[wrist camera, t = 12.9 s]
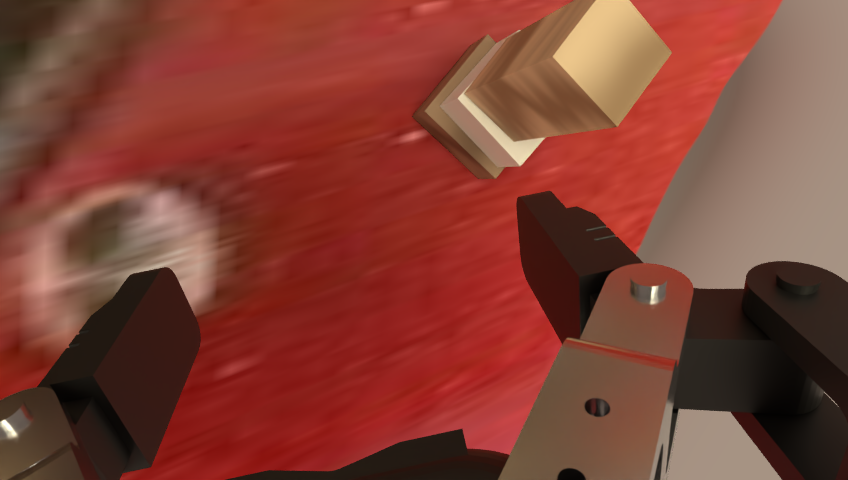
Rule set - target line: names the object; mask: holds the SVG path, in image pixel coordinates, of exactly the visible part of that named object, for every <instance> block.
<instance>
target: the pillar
mask: <svg viewBox="0 0 848 480" xmlns="http://www.w3.org/2000/svg"><path fill="white" fill-rule="evenodd" d="M671 53H672V52H671V51H670V49H669V48H668V47H667V46H666V45H665V43H664V42H663V41H662V40H661V39H660V37H659V36H658V35H657V34H656V32H655V31H654V30H653V29H652V28H651V26H650V25H649V24H648V23H647V21H646V20H645V19H644V18H643V17H642V15H641V14H640V13H639V12H638V10H637V9H636V8H635V7H634V6H633V4H632V3H631V2H630V1H629V0H574V1H572V2H570V3H569V4H567V5H565V6H563V7H562V8H560V9H558V10H556V11H555V12H553V13H551V14H549V15H547V16H546V17H544V18H542V19H540V20H539V21H537V22H535V23H533V24H532V25H530V26H528V27H526V28H524V29H523V30H521V31H519V32H517V33H516V34H514V35H512V36H510V37H508V38H507V39H506V40H505V42H504V43H503V44H502V45H501V47H500V48H499V49H498V50H497V52H496V53H495V54H494V56H493V57H492V58H491V59H490V61H489V62H488V63H487V65H486V66H485V67H484V68H483V70H482V71H481V72H480V74H479V75H478V76H477V77H476V79H475V80H474V81H473V82H472V84H471V85H470V86H469V88H468V89H467V90H466V91H465V93H464V94H465V95H466V96H467V97H468V98H469V99H470V100H471V101H472V102H473V103H474V104H475V105H477V106H478V107H479V108H480V109H481V110H482V111H483V112H484V113H485V114H486V115H487V116H488V117H489V118H490V119H491V120H492V121H493V122H494V123H495V124H496V125H497V126H498V127H499V128H500V129H501V130H502V131H503V132H504V133H505V134H506V135H507V136H508V137H510V138H511V139H512V140H513V141H514V142H516V141H523V140H530V139H537V138H544V137H550V136H557V135H564V134H571V133H578V132H585V131H592V130H599V129H606V128H613V127H618V125H619V124H620V123H621V121H622V120H623V118H624V117H625V116H626V114H627V113H628V112H629V110H630V109H631V108H632V106H633V105H634V104H635V102H636V101H637V99H638V98H639V97H640V95H641V94H642V93H643V91H644V90H645V89H646V87H647V86H648V85H649V83H650V82H651V80H652V79H653V78H654V76H655V75H656V74H657V72H658V71H659V70H660V68H661V67H662V65H663V64H664V63H665V61H666V60H667V59H668V57H669V56H670V55H671Z"/></svg>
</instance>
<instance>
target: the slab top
mask: <svg viewBox="0 0 848 480" xmlns="http://www.w3.org/2000/svg"><path fill="white" fill-rule="evenodd" d="M519 31H520V30H518V31H516V32H515V33H513V34H511V35H510V36H512V35H514V34H516V33H517V32H519ZM510 36H508V37H510ZM508 37H506V38H504V39H503V40H501V41H499V42H498V43H496V44H495V45H494V46H493V47H492V48H491V49H490V51H489V52H488V53H487V54H486V55H485V56H484V57H483V58H482V59H481V61H480V62H479V63H478V64H477V65H476V66H475V67H474V68H473V69H472V71H471V72H470V73H469V74H468V75H467V76H466V77H465V78H464V79H463V81H462V82H461V83H460V84H459V85H458V86H457V87H456V88H455V89H454V91H453V92H452V93H451V94H450V95H449V96H448V97H447V98H446V99H445V101H444V102H443V103H442V104H441V105H440V107H441V108H442V109H443V110H444V111H445V112H446V113H447V114H448V115H449V117H450V118H451V119H452V120H453V121H454V122H455V123H456V124H457V125H458V126H459V127H460V128H461V129H462V130H463V131H464V132H465V133H466V134H467V136H468V137H469V138H470V139H471V140H472V141H473V142H474V143H475V144H476V145H477V146H478V147H479V148H480V149H481V150H482V151H483V152H484V153H485V155H486V156H487V157H488V158H489V159H490V160H491V161H492V162H493V163H494V164H495V165H496V166H497V167H514V166H521V165H522V164H523V163H524V162H525V160H526V159H527V158H528V157H529V156H530V155H531V153H532V152H533V151H534V150H535V149H536V148H537V146H538V145H539V144H540V143H541V142H542V141H543V140H544V138H545V137H544V138H537V139H530V140H523V141H516V142H514V141H513V140H512V139H511V138H510V137H508V136H507V135H506V134H505V133H504V132H503V131H502V130H501V129H500V128H499V127H498V126H497V125H496V124H495V123H494V122H493V121H492V120H491V119H490V118H489V117H488V116H487V115H486V114H485V113H484V112H483V111H482V110H481V109H480V108H479V107H478V106H477V105H475V104H474V103H473V102H472V101H471V100H470V99H469V98H468V97H467V96H466V95H465V94H464V93H465V91H466V90H467V89H468V88H469V86H470V85H471V84H472V82H473V81H474V80H475V79H476V77H477V76H478V75H479V74H480V72H481V71H482V70H483V68H484V67H485V66H486V65H487V63H488V62H489V61H490V59H491V58H492V57H493V56H494V54H495V53H496V52H497V50H498V49H499V48H500V47H501V45H502V44H503V43H504V42H505V40H506V39H507V38H508Z"/></svg>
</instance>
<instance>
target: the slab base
mask: <svg viewBox="0 0 848 480" xmlns="http://www.w3.org/2000/svg"><path fill="white" fill-rule="evenodd" d="M495 44H496V42H495V41H494V40H493V39H492V38H491V37H490V36H489V35H488V34H487V35H486V36H484V37H483V38H481V39H480V40H478V41H477V42H475V43H474V44H472V45H471V46H470V47H469V48H468V49H467V50H466V52H465V53H464V54H463V55H462V56H461V58H460V59H459V60H458V61H457V62H456V64H455V65H454V66H453V67H452V68H451V70H450V71H449V72H448V73H447V75H446V76H445V77H444V78H443V79H442V81H441V82H440V83H439V84H438V85H437V87H436V88H435V89H434V90H433V92H432V93H431V94H430V95H429V96H428V98H427V99H426V100H425V101H424V102H423V104H422V105H421V106H420V107H419V108H418V110H417V111H416V112H415V113H414V115H413V116H412V117H413V118H414V119H415V120H416V121H417V122H419V123H420V124H421V125H422V126H423V127H424V128H425V129H426V130H427V131H428V132H429V133H430V134H431V135H432V136H433V137H435V138H436V139H437V140H438V141H439V142H440V143H441V144H442V145H443V146H444V147H445V148H446V149H447V150H448V151H449V152H451V153H452V154H453V155H454V156H455V157H456V158H457V159H458V160H459V161H460V162H461V163H462V164H463V165H464V166H465V167H466V168H468V169H469V170H470V171H471V172H472V173H473V174H474V175H475V176H476V177H477V178H478V179H496V178H497V177H498V175H499V174H500V173H501V172H502V170H503V169H504V168H505V167H497V166H496V165H495V164H494V163H493V162H492V161H491V160H490V159H489V158H488V157H487V156H486V155H485V153H484V152H483V151H482V150H481V149H480V148H479V147H478V146H477V145H476V144H475V143H474V142H473V141H472V140H471V139H470V138H469V137H468V136H467V134H466V133H465V132H464V131H463V130H462V129H461V128H460V127H459V126H458V125H457V124H456V123H455V122H454V121H453V120H452V119H451V118H450V117H449V115H448V114H447V113H446V112H445V111H444V110H443V109H442V108H441V107H440V105H441V104H442V103H443V102H444V101H445V99H446V98H447V97H448V96H449V95H450V94H451V93H452V92H453V91H454V89H455V88H456V87H457V86H458V85H459V84H460V83H461V82H462V81H463V79H464V78H465V77H466V76H467V75H468V74H469V73H470V72H471V71H472V69H473V68H474V67H475V66H476V65H477V64H478V63H479V62H480V61H481V59H482V58H483V57H484V56H485V55H486V54H487V53H488V52H489V51H490V49H491V48H492V47H493V46H494V45H495Z"/></svg>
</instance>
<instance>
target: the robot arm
mask: <svg viewBox="0 0 848 480" xmlns="http://www.w3.org/2000/svg"><path fill="white" fill-rule="evenodd" d="M517 219H518V231H519V243H520V255H521V262H522V267H523V271H524V274H525V277H526V280H527V282H528V284H529V285H530V287H531V289H532V291H533V293H534V294H535V296H536V298H537V300H538V301H539V303H540V305H541V307H542V309H543V310H544V312H545V314H546V316H547V318H548V319H549V321H550V323H551V325H552V326H553V328H554V330H555V332H556V334H557V335H558V337H559V339H560V341H561V342H562V346H561V348H560V350H559V353H558V355H557V357H556V359H555V361H554V363H553V365H552V367H551V369H550V372H549V374H548V376H547V378H546V380H545V382H544V384H543V386H542V388H541V390H540V393H539V395H538V397H537V399H536V401H535V403H534V405H533V407H532V409H531V411H530V414H529V416H528V418H527V420H526V422H525V424H524V426H523V428H522V430H521V433H520V435H519V437H518V439H517V441H516V443H515V445H514V447H513V449H512V451H511V454H510V455H508V454H504V453H500V452H496V451H489V450H482V449H467V447H466V443H465V439H464V435H463V431H462V429H459V430H454V431H450V432H445V433H440V434H436V435H431V436H426V437H422V438H417V439H413V440H408V441H403V442H399V443H397V444H395V445H392V446H390V447H388V448H386V449H383V450H381V451H379V452H377V453H374V454H372V455H370V456H368V457H365V458H363V459H361V460H359V461H356V462H354V463H352V464H350V465H347V466H345V467H343V468H341V469H338V470H335V471H272V470H268V471H264V472H259V473H254V474H250V475H245V476H240V477H236V478H231V479H226V480H667V478H668V472H669V467H670V462H671V456H672V451H673V445H674V440H675V435H676V430H677V424H678V419H679V414H680V409H693V410H711V411H729V412H731V413H732V415H733V416H734V417H735V419H736V420H737V421H738V422H739V424H740V425H741V426H742V428H743V429H744V430H745V431H746V433H747V434H748V436H749V437H750V438H751V439H752V441H753V442H754V443H755V445H756V446H757V447H758V448H759V450H760V451H761V453H762V454H763V455H764V456H765V458H766V459H767V460H768V462H769V463H770V464H771V466H772V467H773V468H774V469H775V471H776V472H777V473H778V475H779V476H780V477H781V479H782V480H848V282H846V281H845V280H843V279H842V278H841V277H839V276H837V275H836V274H834V273H832V272H830V271H828V270H825V269H823V268H820V267H817V266H813V265H809V264H804V263H799V262H788V261H776V262H768V263H764V264H760V265H758V266H755V267H754V268H752V269H751V270H750V271H749V272H748V273H747V275H746V281H745V287H744V289H698V288H693V285H692V283H691V281H690V280H689V279H688V278H687V277H686V276H685V275H684V274H682V273H681V272H679V271H677V270H675V269H672V268H670V267H666V266H663V265H657V264H649V263H643V262H642V261H641V260H640V259H639V258H638V257H637V256H636V255H635V254H634V253H633V252H632V251H631V250H630V249H629V248H628V247H627V246H626V245H625V244H624V243H623V242H622V241H621V240H620V239H619V238H618V237H615V234H614V233H613V232H612V231H611V230H610V229H609V228H606V225H605V224H604V223H603V222H602V221H601V220H600V219H599V218H598V217H597V216H596V215H595V214H593V213H591V212H589V211H586V210H584V209H582V208H579V207H577V206H576V207H571V208H567V209H566V207H565V206H564V205H563V204H562V203H561V202H560V201H559V200H558V199H557V197H556V196H555V195H554V194H553V193H552V192H551V191H546V192H541V193H536V194H531V195H526V196H521V197H518V198H517ZM79 333H80V334H79V335H76V336H75V338H74V339H73V340H72V342H71V343H70V344H69V348H67V349H66V350H65V351H64V352H63V354H62V355H61V356H60V358H59V359H58V360H57V362H56V363H55V364H54V365H53V367H52V368H51V369H50V371H49V372H48V373H47V375H46V376H45V377H44V379H43V380H42V381H41V383H40V384H39V385H38V387H36V388H31V389H26V390H23V391H20V392H18V393H15V394H13V395H10V396H8V397H6V398H4V399H2V400H0V480H120V477H121V475H122V473H126V472H130V471H135V470H140V469H144V468H149V467H151V466H152V463H153V461H154V458H155V456H156V454H157V451H158V449H159V446H160V444H161V441H162V439H163V436H164V434H165V431H166V429H167V426H168V424H169V422H170V419H171V417H172V414H173V412H174V409H175V407H176V404H177V402H178V399H179V397H180V395H181V392H182V390H183V387H184V385H185V382H186V380H187V377H188V375H189V372H190V370H191V368H192V365H193V363H194V360H195V358H196V355H197V353H198V350H199V347H200V341H201V337H200V329H199V325H198V322H197V320H196V318H195V315H194V313H193V311H192V309H191V307H190V305H189V303H188V301H187V298H186V296H185V294H184V292H183V290H182V288H181V286H180V284H179V282H178V279H177V277H176V275H175V274H174V272H173V271H172V270H171V269H170V268H167V267H164V268H159V269H154V270H149V271H144V272H139V273H134V274H131V275H130V276H129V277H128V278H127V280H126V281H125V282H124V284H123V285H122V286H121V288H120V289H119V290H118V292H117V293H116V295H115V296H114V297H113V299H112V300H110V301H109V302H108V303H107V304H105V305H104V306H103V307H102V308H100V309H99V310H98V311H97V312H95V313H94V314H93V315H91V317H90V318H89V319H88V321H87V322H86V323H85V325H84V326H83V327H82V329H81V330H80V331H79ZM824 392H825V393H826V394H828V395H829V396H830V397H831V398H832V399H833V400H834V401H835V403H836V404H837V405H838V406H839V407H840V408H839V407H838V406H837V405H836V404H835V403H834V402H833V401H832V400H831V399H830V398H829V397H828V396H827V395H826V394H825V393H824Z"/></svg>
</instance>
